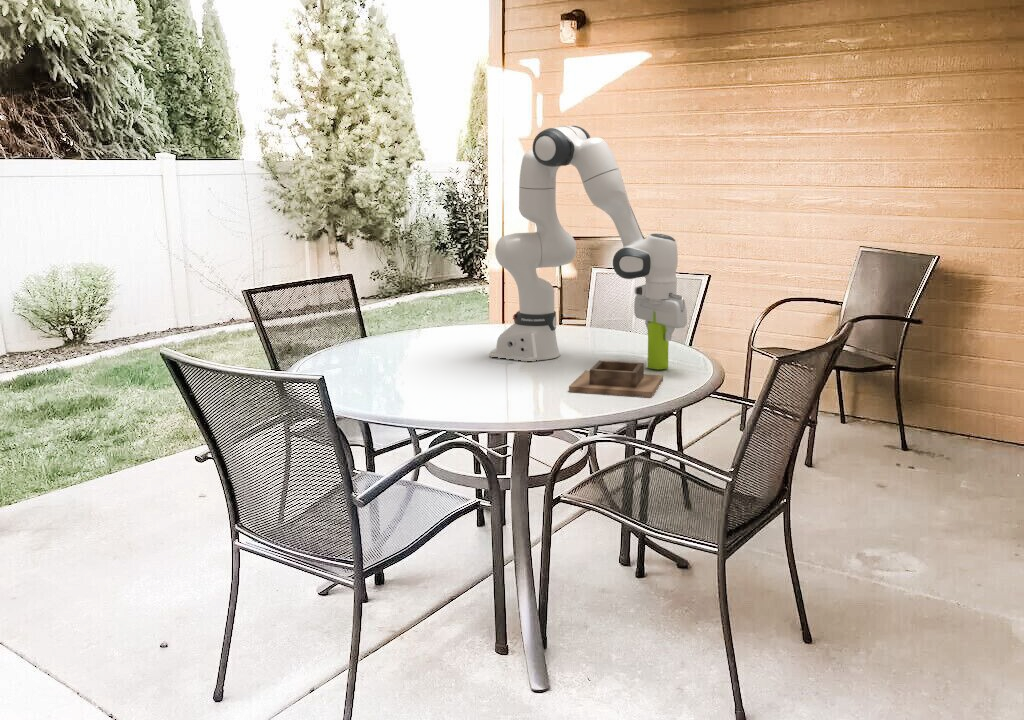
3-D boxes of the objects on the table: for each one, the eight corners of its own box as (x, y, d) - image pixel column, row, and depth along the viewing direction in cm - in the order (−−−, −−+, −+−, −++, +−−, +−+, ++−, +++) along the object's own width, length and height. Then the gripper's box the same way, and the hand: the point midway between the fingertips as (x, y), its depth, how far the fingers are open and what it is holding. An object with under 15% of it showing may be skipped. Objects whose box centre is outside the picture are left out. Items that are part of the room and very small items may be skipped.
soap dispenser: (671, 369, 225) (672, 300, 221) (647, 369, 226) (648, 300, 222) (672, 365, 230) (673, 298, 227) (648, 365, 232) (649, 298, 228)
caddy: (568, 391, 206) (568, 371, 205) (585, 375, 223) (585, 356, 222) (652, 397, 199) (652, 376, 198) (662, 380, 216) (663, 361, 214)
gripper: (693, 295, 216) (691, 343, 219) (648, 285, 234) (646, 331, 237) (675, 297, 213) (673, 346, 217) (631, 287, 231) (629, 333, 234)
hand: (659, 338), depth 227 cm, fingers closed on soap dispenser, 6 cm apart
